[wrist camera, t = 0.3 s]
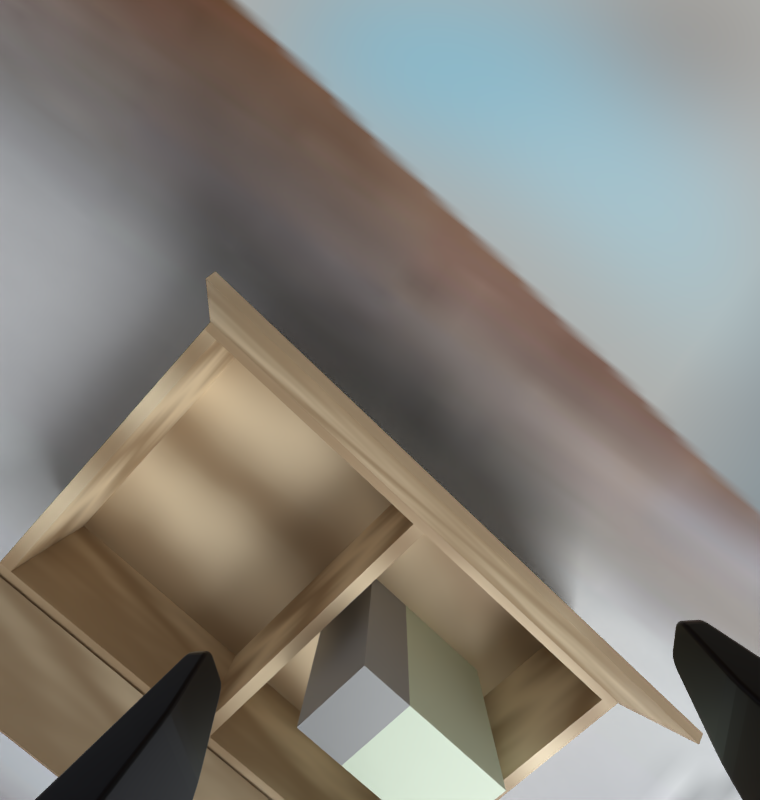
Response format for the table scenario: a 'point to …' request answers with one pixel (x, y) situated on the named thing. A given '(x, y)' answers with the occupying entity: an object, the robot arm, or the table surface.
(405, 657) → the box
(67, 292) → the table surface
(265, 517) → the wooden cubby shelf
